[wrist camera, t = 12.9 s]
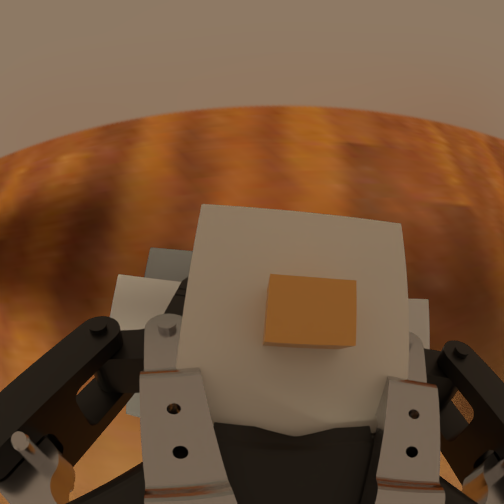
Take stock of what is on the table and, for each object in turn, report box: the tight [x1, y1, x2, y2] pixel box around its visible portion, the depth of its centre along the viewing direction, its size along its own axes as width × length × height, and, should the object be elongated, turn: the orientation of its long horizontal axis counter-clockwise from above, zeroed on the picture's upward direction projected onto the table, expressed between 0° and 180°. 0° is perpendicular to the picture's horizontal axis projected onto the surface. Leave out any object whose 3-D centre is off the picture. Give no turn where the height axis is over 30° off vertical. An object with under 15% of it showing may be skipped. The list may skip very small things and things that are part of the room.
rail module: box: [176, 204, 409, 436], centre depth 10 cm, size 5×5×11 cm
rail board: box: [110, 248, 430, 417], centre depth 16 cm, size 18×12×6 cm, turn 85°
